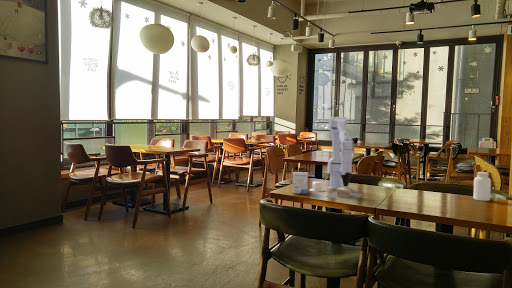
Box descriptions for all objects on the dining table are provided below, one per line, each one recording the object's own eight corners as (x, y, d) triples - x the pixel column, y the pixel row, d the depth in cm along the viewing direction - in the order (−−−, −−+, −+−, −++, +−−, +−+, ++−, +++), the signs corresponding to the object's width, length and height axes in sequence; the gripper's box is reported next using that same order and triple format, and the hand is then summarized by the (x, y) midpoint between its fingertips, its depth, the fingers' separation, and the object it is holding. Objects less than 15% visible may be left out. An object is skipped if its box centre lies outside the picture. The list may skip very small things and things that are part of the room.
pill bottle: (487, 198, 215) (489, 172, 214) (491, 201, 207) (493, 173, 206) (471, 197, 217) (473, 171, 216) (474, 200, 210) (476, 173, 209)
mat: (336, 191, 228) (336, 190, 228) (363, 194, 220) (363, 193, 220) (324, 197, 211) (324, 196, 211) (354, 201, 203) (354, 200, 203)
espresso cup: (312, 188, 237) (313, 180, 237) (326, 190, 233) (327, 182, 232) (307, 190, 229) (307, 182, 229) (321, 192, 225) (321, 184, 225)
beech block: (340, 187, 219) (337, 188, 212) (351, 188, 216) (347, 190, 209) (340, 194, 219) (336, 196, 213) (351, 195, 216) (347, 197, 210)
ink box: (307, 192, 226) (307, 171, 225) (307, 193, 221) (307, 173, 220) (292, 191, 227) (292, 171, 226) (292, 193, 222) (292, 172, 221)
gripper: (342, 160, 224) (342, 183, 224) (335, 162, 211) (335, 187, 212) (355, 161, 220) (354, 184, 221) (348, 163, 207) (347, 188, 208)
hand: (345, 186), depth 216 cm, fingers closed
